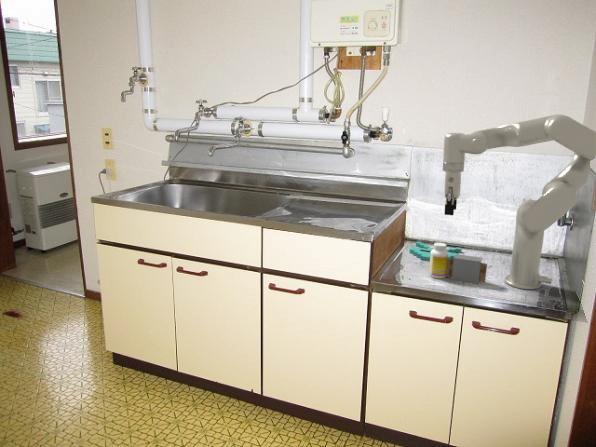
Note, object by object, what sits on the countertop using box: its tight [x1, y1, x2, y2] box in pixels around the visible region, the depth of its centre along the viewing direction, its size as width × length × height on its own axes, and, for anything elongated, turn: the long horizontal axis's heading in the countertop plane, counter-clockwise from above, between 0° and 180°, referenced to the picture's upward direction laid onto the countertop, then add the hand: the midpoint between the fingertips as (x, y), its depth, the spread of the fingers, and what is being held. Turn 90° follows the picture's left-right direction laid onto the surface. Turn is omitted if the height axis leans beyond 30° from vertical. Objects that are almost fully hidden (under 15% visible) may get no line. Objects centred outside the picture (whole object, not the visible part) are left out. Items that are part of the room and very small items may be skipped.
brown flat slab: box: [445, 258, 488, 283], centre depth 184 cm, size 14×1×7 cm, turn 65°
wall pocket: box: [451, 253, 483, 285], centre depth 184 cm, size 10×5×9 cm, turn 65°
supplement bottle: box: [428, 242, 448, 279], centre depth 187 cm, size 7×7×13 cm
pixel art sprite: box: [409, 241, 462, 262], centre depth 214 cm, size 20×2×20 cm
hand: (450, 212), depth 184 cm, fingers open, 9 cm apart
